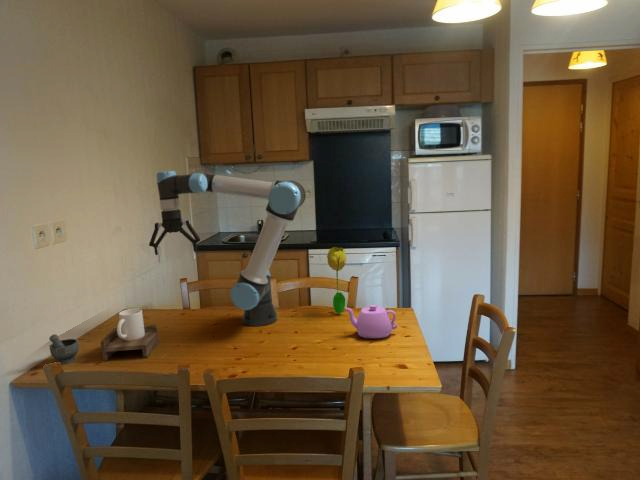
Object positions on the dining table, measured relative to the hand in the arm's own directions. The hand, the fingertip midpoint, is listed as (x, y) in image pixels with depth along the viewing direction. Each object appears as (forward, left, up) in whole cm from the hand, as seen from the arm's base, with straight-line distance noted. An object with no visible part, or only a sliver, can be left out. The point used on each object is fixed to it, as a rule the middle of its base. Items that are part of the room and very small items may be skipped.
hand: (177, 261), depth 198 cm
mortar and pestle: (+38, +24, -31) cm, 55 cm away
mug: (+16, +19, -26) cm, 36 cm away
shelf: (+16, +19, -30) cm, 39 cm away
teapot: (-76, +20, -31) cm, 84 cm away
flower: (-66, -7, -31) cm, 73 cm away
